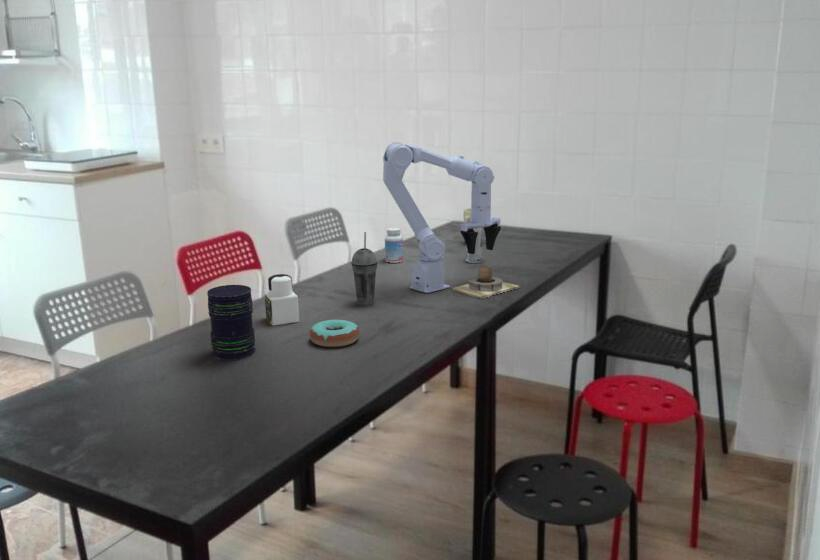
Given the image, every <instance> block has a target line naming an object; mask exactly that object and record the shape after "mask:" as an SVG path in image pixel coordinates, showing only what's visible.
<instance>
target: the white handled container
mask: <svg viewBox="0 0 820 560" xmlns="http://www.w3.org/2000/svg"><path fill="white" fill-rule="evenodd" d="M267 280H268V281H267V285H268V291H266V292H264V303H265V318H266V320H267V321H268V323H270V325H272V326H273V327H274V326H279V325H280V326H281V325H288V324H294V323H299V322H300V313H299V310H300V309H299V296H298V295H297V294H296V293H295V292H294V291H293V290H294V289H293V277H292V276H291V275H289V274H284V273H279V274H273V275H271V276H269V277H268V278H267Z"/></svg>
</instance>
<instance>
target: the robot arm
mask: <svg viewBox="0 0 820 560" xmlns="http://www.w3.org/2000/svg"><path fill="white" fill-rule="evenodd" d="M382 160H383V161H382V162H383V170H382V171H383V174H382V180H383V183H384V185H385V186H386V188H387V190H388V193H390V195H391V196H392V199H393V200H394V201H395V204H396V205H397V207H398V209H399V210H400V212H401V214H402V215H403V216H404V218H405V220H406V222H407V223H408V225H409V227H410V229H411V231H412V232H413V234H414V237H415V238H416V241H417V247H418V248H417V249H418V250H419V251H420V252H421V253H420V254H419V256H418V260H417V261H415V262H413V263H412V265H411V266H410V280H411V281H410V284H411V285H410V286H409V289H412V290H415V291H418V292H421V293H425V294H430V293H433V292H437V291H441V290H446V289H449V288H450V287H451V286H450V285H449V284H445V283H444V282H445V279H444V276H445V275H444V274H445V270H444V269H445V267H444V266H445V264H444V263H445V262H444V261H445V259H444V256H445V254H446V245H445V243H444V242H443V241H442V240H440V239H439V238H438V237H437V236H436V234H435V233H434V231H433V230H432V228H431V227H430V226H429V224H428V223H427V221H426V219H425V217H424V216H423V214H422V212H421V211H420V208H419V207H418V206H417V203H416V201H414V198H413V197H412V195H411V194H410V192H409V190H408V188H407V187H406V185H405V184H404V181H403V178H404V176H405V173H406V171H407V169H408V168H409V167H410V165H411V164H412V163H413V164H419V163H420V162H423V163H426V164H430V165H433V166H437V167H440V168H443V169H445V170H446V172H447V174H448V176H452V177H455V178H458V179H460V180H463V181H466V182H471V194H470V195H471V198H470V199H471V202H470V203H471V205H470V206H471V207H470V208H471V221H469V222H466V223H464V222H463V223H461V224H460V234H461V236H462V237H463V240H464V244H465V243H466V244H465V247H466V246H467V250H468V253H469V254H475V245H476V239H477V235H478V232H474V230H473V229H477V228H483V231H484V234H485V235H484V236H485V249H486V250H489V251H493V250H494V246H495V243H496V240H497V238H498V237H497V236H498V235H499V233H500V231H501V230H502V227H501V226H500V225H501V218H499V217H492V214H491V211H492V183H493V182H494V180H495V175H494V172H493V170H492V169H491V168H490V167H489V166H486V165H483V164H481V163H480V162H479V161H476V160H475V161H473V160H472V161H471V160H469V159H466V158H465V156H464V155H461V154H458V155H453V156H452V157H447V156H443V155H441V154H438V153H437V152H433V151H430V150H428V149H425V148H422V147H420V146H415V145H411V144H403V143H401V142H392V143H390V144H388V145H387V147H386V149H385V151H384V154H383V157H382Z"/></svg>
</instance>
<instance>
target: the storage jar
mask: <svg viewBox="0 0 820 560" xmlns="http://www.w3.org/2000/svg"><path fill="white" fill-rule="evenodd" d="M206 295H207V309H208V311H207V313H208V315H209V318H210V326H211V327H210V328H211V331H210V335H209V336H210V343H211V344H210V345H211V349H212V357H213V358H214V359H217V360H222V361H237V360H242V359H243V360H244V359H247V358H250V357H252V356H253V355H255V353H256V347H255V345H256V343H255V342H256V335H255V333H256V331H255V327H253V326H254V325H253V316H252V315H253V312H254V311H253V310H254V308H253V299H252V288H251V287H250V286H247V285H243V284H226V285H219V286H215V287H212V288H210V289H208V290H207V293H206Z"/></svg>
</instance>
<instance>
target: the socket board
mask: <svg viewBox="0 0 820 560" xmlns="http://www.w3.org/2000/svg"><path fill="white" fill-rule="evenodd" d="M468 282H469V283H466V284H463V285H459V286H458V285H457V286H454V287H451V291H452V292H454V293H459V294H461V293H462V295H465V296H469V297H473V298H475V299H479V298H480V300H484V299H486V297H488V298H491V297H493V296H492V295H495V296H497V295H496V294H498V295H501V294H500V293H502V294H504V293H503V292H505V293H508V292H507V291H509V292H511V291H510V290H512V291H515V290H514V289H516V290H518V288H519V289H520V285H517V284H514V283H509V282H505V281H503V278H500V277H495V276H492V283H480V282H478V276H475V277H471V278H469V281H468ZM490 296H491V297H490ZM483 298H484V299H483Z"/></svg>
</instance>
